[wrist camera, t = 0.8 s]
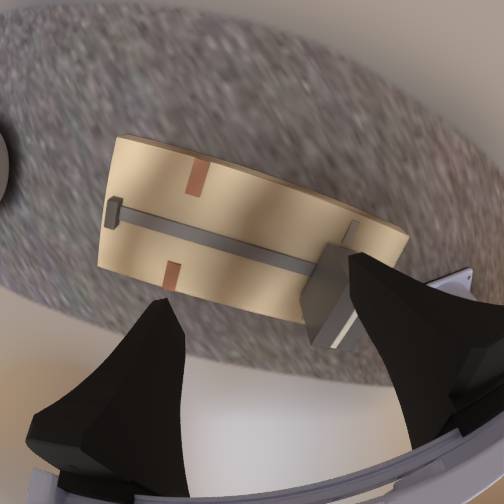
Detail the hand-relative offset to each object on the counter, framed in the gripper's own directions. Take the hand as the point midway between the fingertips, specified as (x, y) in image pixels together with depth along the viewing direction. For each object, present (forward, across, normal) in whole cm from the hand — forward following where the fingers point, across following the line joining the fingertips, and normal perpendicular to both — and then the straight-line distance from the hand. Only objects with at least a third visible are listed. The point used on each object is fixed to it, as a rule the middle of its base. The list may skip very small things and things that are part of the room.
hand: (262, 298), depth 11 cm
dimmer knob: (+8, -5, +6) cm, 11 cm away
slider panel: (+11, 0, +3) cm, 11 cm away
